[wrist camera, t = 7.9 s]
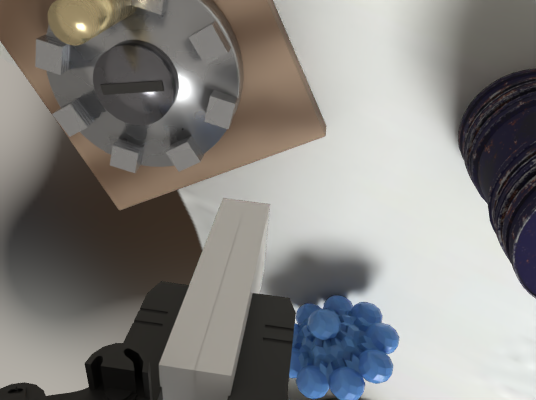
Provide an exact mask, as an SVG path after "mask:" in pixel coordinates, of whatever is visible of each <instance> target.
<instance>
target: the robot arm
mask: <svg viewBox="0 0 536 400" xmlns="http://www.w3.org/2000/svg"><path fill="white" fill-rule="evenodd" d="M269 210H270V204H265V203H257V202H249V201H242V200H234V199H226V198H223V200H222V202H221V205H220V207H219V210H218V212H217V215H216V218H215V220H214V223H213V225H212V228H211V231H210V233H209V236H208V238H207V241H206V244H205V246H204V249H203V251H202V254H201V256H200V259H199V262H198V264H197V267H196V270H195V272H194V275H193V277H192V280H191V282H190V285H184V284H176V283H169V282H162V281H161V282H160V283H159V284H158V285H156V286H155V287H154V288H153V289H152V290H151V291H150V292H148V293H147V295H146V297H145V300H144V301H143V303H142V306H141V308H140V311H139V312H138V314H137V316H136V318H135V320H134V323H133V324H132V326H131V328H130V331H129V333H128V335H127V336H126V339H125V341H124V343H115V344H112V345H108V346H105V347H102V348H101V349H99V350H98V351H96V352H95V353H93V354H92V355H91V356H90V357H89V359H88V360H87V361H86V362H85V368H86V373H87V378H88V384H89V387H88V388H86V389H84V390H80V391H77V392H71V393H65V394H57V395H51V396H45V393H44V391H43V390H42V389H41V388H39V387H38V386H37V385H34V384H29V383H17V384H11V385H8V386H6V387H4V388H1V389H0V400H288V394H287V391H288V382H289V372H290V363H291V353H292V343H293V334H294V324H295V315H296V312H295V310H294V308H293V305H292V303H291V301H290V298H285V297H278V296H271V295H264V294H260V289H261V284H262V280H263V275H264V268H265V256H266V245H267V233H268V222H269ZM331 400H339V399H331Z"/></svg>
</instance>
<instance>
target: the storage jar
mask: <svg viewBox="0 0 536 400" xmlns="http://www.w3.org/2000/svg"><path fill="white" fill-rule="evenodd" d="M458 142H459V148H460V151H461V154H462V157H463V159H464V161H465V166H466V169H467V171H468V174H469V176H470V178H471V180H472V182H473V183H474V185H475V187H476V189H477V190H478V192H479V194H480V195H481V197H482V198H483V199H484V200H485V201H486V202H487V204H488V209H489V217H490V222H491V225H492V227H493V230H494V231H495V233H496V235H497V238H498V240H499V243H500V245H501V247H502V249H503V251H504V253H505V254H506V256H507V258H508V259H509V260H510V262H511V264H512V266H513V269H514V271H515V274H516V276H517V278H518V280H519V281H520V283H521V284H522V286H523V287H524V288H525V289H526V291H527V292H528V293H529V294H530V295H532V296H533V297H534V298H536V69H530V70H523V71H519V72H515V73H512V74H510V75H507V76H505V77H502V78H500V79H499V80H497V81H495V82H493V83H492V84H490V85H489V86H488V87H486V88H485V89H483V90H482V91H481V92H480V93H479V94H478V95H477V96H476V97H475V98H474V100H473V101H472V102H471V103H470V105H469V106H468V108H467V110H466V111H465V113H464V115H463V118H462V120H461V123H460V127H459V134H458Z"/></svg>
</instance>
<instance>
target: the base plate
mask: <svg viewBox="0 0 536 400" xmlns="http://www.w3.org/2000/svg"><path fill="white" fill-rule="evenodd" d="M55 1H56V0H0V41H1V42H2V44H3V45H4V47H5V48H6V49H7V51H8V52H9V54H10V55H11V57H12V58H13V59H14V61H15V62H16V64H17V65H18V67H19V68H20V69H21V71H22V72H23V74H24V75H25V77H26V78H27V79H28V81H29V82H30V84H31V85H32V87H33V88H34V89H35V91H36V92H37V94H38V95H39V96H40V98H41V99H42V101H43V102H44V104H45V105H46V107H47V108H48V109H49V111H50V112H51V114H53V113H54V112H56V111H57V110H58V109H59V108H61V107H60V106H59V104H58V102H57V100H56V98H55V96H54V93H53V91H52V89H51V86H50V83H49V79H48V76H47V71H46V70H43V69H40V68H37V67H35V59H36V39H37V38H39V37H41V36H43V35H46V34H47V30H48V26H49V23H48V11H49V8H50V6H51V5H52V3H53V2H55ZM212 1H213V2H214V3H215V5H216V6H217V7H218V8H219V10H220V11H221V12H222V13H223V15H224V16H225V18H226V19H227V21H228V23H229V24H230V26H231V28H232V30H233V32H234V34H235V36H236V39H237V42H238V45H239V48H240V51H241V56H242V61H243V73H244V78H243V89H242V94H241V99H240V102H239V105H238V107H237V110H236V112H235V114H234V116H233V119H232V123H231V125H230V127H229V129H227V130H226V132H225V133H224V135H223V136H222V137H221V139H220V140H219V141H218V142H217V143H216V144H215V145H214V146H213V147H212V148H211V149H210V150H208V151H207V152H206V153H204V156H203V158H202V160H201V162H200V163H197V164H195V165H193V166H191V167H188V168H186V169H184V170H182V171H180V172H179V171H178V170H177V169H176V167H175V166H165V167H150V166H143V165H140V167H139V169H138V170H137V171H136V173H132V172H129V171H126V170H123V169H120V168H117V167H114V166H110V160H111V155H110V154H108V153H106V152H105V151H103V150H102V149H100V148H98V147H97V146H95V145H94V144H93V143H92V142H90V141H89V140H88V139H87V138H85V137H84V136H83V135H82V134H81V133H80V132H78V133H76V134H74V135H72V136H70V137H69V136H68V134H67V133H66V132H65V130H64V129H63V128H62V127H61V125H60V124H59V123H58V124H59V125H60V127H61V128H62V129H63V131H64V132H65V134H66V135H67V136H68V138H69V139H70V141H71V142H72V144H73V145H74V146H75V148H76V149H77V151H78V152H79V153H80V155H81V156H82V158H83V159H84V160H85V162H86V164H87V165H88V166H89V168H90V169H91V171H92V172H93V174H94V175H95V176H96V178H97V179H98V181H99V182H100V184H101V185H102V186H103V188H104V189H105V191H106V192H107V193H108V195H109V196H110V198H111V199H112V201H113V202H114V204H115V205H116V206H117V208H118V209H119V210H122V209H125V208H128V207H130V206H133V205H136V204H139V203H141V202H144V201H147V200H150V199H153V198H155V197H158V196H161V195H164V194H166V193H169V192H172V191H175V190H178V189H180V188H183V187H186V186H189V185H191V184H194V183H197V182H200V181H202V180H205V179H208V178H211V177H214V176H216V175H219V174H222V173H225V172H227V171H230V170H233V169H236V168H238V167H241V166H244V165H247V164H250V163H252V162H255V161H258V160H261V159H263V158H266V157H269V156H272V155H275V154H277V153H280V152H283V151H286V150H288V149H291V148H294V147H297V146H299V145H302V144H305V143H308V142H311V141H313V140H316V139H319V138H322V137H324V136H326V124H325V122H324V120H323V117H322V115H321V113H320V110H319V108H318V106H317V103H316V101H315V99H314V96H313V94H312V91H311V89H310V87H309V84H308V82H307V80H306V77H305V75H304V73H303V70H302V68H301V66H300V63H299V61H298V59H297V56H296V54H295V52H294V49H293V47H292V44H291V42H290V40H289V37H288V35H287V33H286V30H285V28H284V26H283V23H282V21H281V19H280V16H279V14H278V12H277V9H276V7H275V5H274V2H273V0H212ZM54 118H55V117H54ZM56 121H57V120H56ZM57 122H58V121H57Z"/></svg>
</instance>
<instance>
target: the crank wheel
mask: <svg viewBox="0 0 536 400" xmlns="http://www.w3.org/2000/svg"><path fill="white" fill-rule="evenodd" d="M48 23H49V26H48V30H47V34H46V35H43V36H41V37H39V38H37V39H36V59H35V67H37V68H40V69H43V70H46V71H47V76H48V79H49V83H50V86H51V89H52V91H53V93H54V96H55V98H56V100H57V102H58V104H59V106H60V107H61V108H59V109H58V110H57V111H56V112H54V113H53V114H52V115H53V116H54V117H55V119H56V120H57V121H58V123H59V124H60V125H61V127H62V128H63V129H64V130H65V132H66V133H67V134H68V136H69V137H70V136H72V135H74V134H76V133H78V132H80V133H81V134H82V135H83V136H84V137H85V138H87V139H88V140H89V141H90V142H92V143H93V144H94V145H95V146H97V147H98V148H100V149H102V150H103V151H105V152H106V153H108V154H110V155H111V160H110V166H114V167H117V168H120V169H123V170H126V171H129V172H132V173H136V171H137V170H138V169H139V167H140V165H143V166H150V167H165V166H175V167H176V169H177V170H178V171H179V172H180V171H182V170H184V169H186V168H188V167H191V166H193V165H195V164H197V163H200V162H201V160H202V158H203V156H204V153H206V152H207V151H208V150H210V149H211V148H212V147H213V146H214V145H215V144H216V143H217V142H218V141H219V140H220V139H221V137H222V136H223V135H224V133H225V132H226V130H227V129H229V127H230V125H231V123H232V119H233V116H234V114H235V112H236V110H237V107H238V105H239V102H240V99H241V94H242V89H243V78H244V73H243V61H242V56H241V51H240V48H239V45H238V42H237V39H236V36H235V34H234V32H233V30H232V28H231V26H230V24H229V23H228V21H227V19H226V18H225V16H224V15H223V13H222V12H221V11H220V10H219V8H218V7H217V6H216V5H215V3H214V2H213V1H212V0H56V1H55V2H53V3H52V5H51V6H50V8H49V11H48Z"/></svg>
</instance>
